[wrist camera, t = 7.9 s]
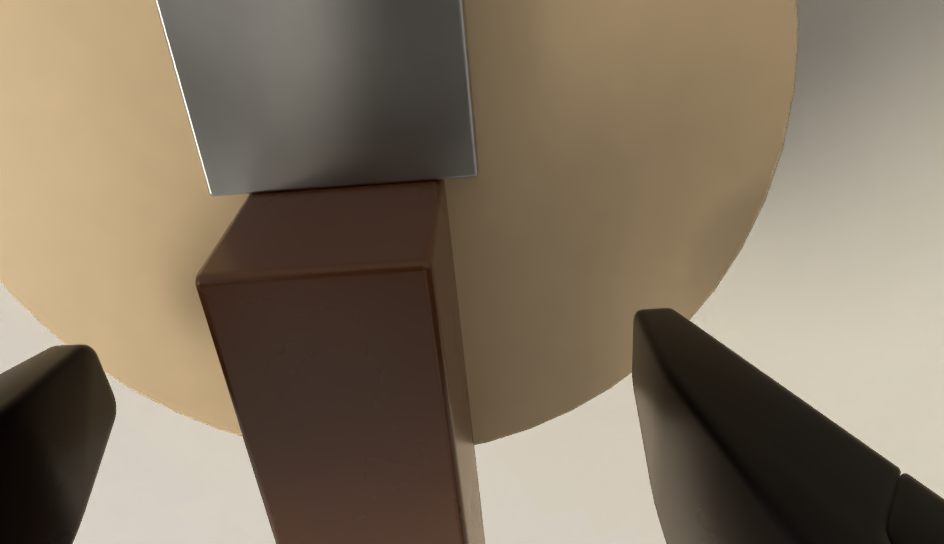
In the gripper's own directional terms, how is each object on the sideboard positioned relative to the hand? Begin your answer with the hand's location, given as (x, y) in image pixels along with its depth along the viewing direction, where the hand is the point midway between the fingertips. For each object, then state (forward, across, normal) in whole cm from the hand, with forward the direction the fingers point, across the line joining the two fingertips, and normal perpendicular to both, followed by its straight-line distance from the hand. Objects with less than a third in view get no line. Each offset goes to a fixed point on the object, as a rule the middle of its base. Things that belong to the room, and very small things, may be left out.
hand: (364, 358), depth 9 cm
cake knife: (+1, 0, -2) cm, 3 cm away
